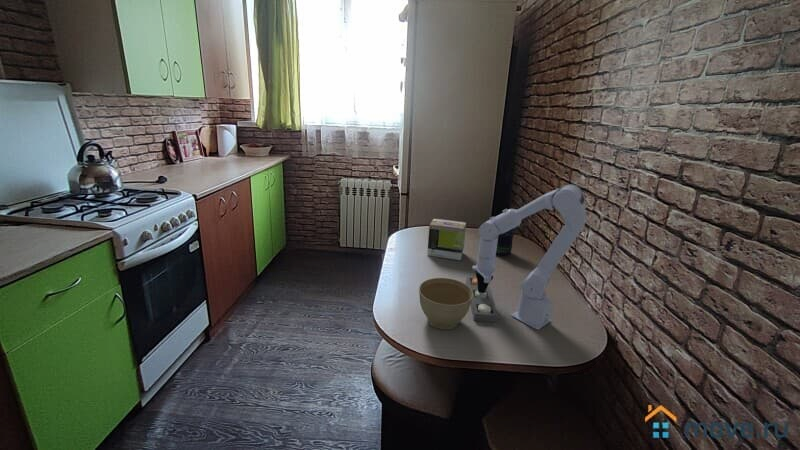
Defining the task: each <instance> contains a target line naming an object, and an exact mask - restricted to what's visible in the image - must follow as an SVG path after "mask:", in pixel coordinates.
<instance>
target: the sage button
mask: <svg viewBox="0 0 800 450" xmlns="http://www.w3.org/2000/svg"><path fill="white" fill-rule="evenodd" d="M474 297H476V298H486V297H487V293H486V292H485V293H479V292H478V290H477V291H475V296H474Z"/></svg>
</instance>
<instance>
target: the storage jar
mask: <svg viewBox="0 0 800 450" xmlns="http://www.w3.org/2000/svg"><path fill="white" fill-rule="evenodd" d="M515 232H516V227H515V228H513V229H511V230H509V231H507V232H505V233H503V234H500V235H498V241H497V250H496V256H497V257H502V258H505V257H510V256H511V253H512V249H513V239H514V235H515ZM496 256H495V257H496Z"/></svg>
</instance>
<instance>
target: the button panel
mask: <svg viewBox="0 0 800 450" xmlns="http://www.w3.org/2000/svg"><path fill="white" fill-rule="evenodd" d="M474 278H477V277H476V276H466V279H465V281H466V282H465V284H466V285H468V286H469V287H470V288H471V290H472V292H473V298H472V300H471V305H470V309H471V313H472V317H473V321H476V322H484V323H485V322H486V323H487V322H488V323H497V322H498V316H499V315H498V313H497V309H496V307H495V303H494V300H493V296H492V294H491V291H490V288H489V285H488V286H487V289H486V291H485V292H486V293H487V297H486V298H476V297H474V296H475V291H477V290H478V286H477V285H472V279H474ZM480 304H486V305H488V306H490V307H491V313H481V312H478V306H479V305H480Z"/></svg>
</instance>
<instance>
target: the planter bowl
mask: <svg viewBox="0 0 800 450" xmlns="http://www.w3.org/2000/svg"><path fill="white" fill-rule="evenodd" d="M418 293H419V304H420V307H421V310H422V312H423V313H424V315H425V317H426V318H427V322H428V323H429V324H430V325H431V326H432V327H434V328H437V329H440V330H451V329H454V328H456V327H457V326H458V325H459V323H460V322H461V321H462V320H463V319H464V318H465V316H466V315H467V314H468V312H469V310H470V309H471V300H472V298H473V292H472V290H471V288H470V287H469V286H468V285H466V282H465V283H464V282H462V281H460V280H458V279H454V278H448V277H432V278H429V279H425V280H424V281H423V282H421V284H420V285H419V288H418Z"/></svg>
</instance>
